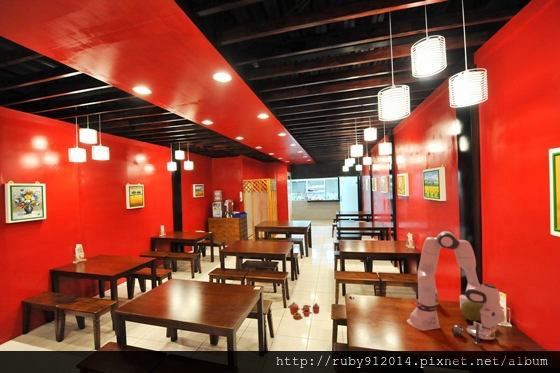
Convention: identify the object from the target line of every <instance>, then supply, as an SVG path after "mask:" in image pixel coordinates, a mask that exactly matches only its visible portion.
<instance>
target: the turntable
mask: <svg viewBox="0 0 560 373" xmlns="http://www.w3.org/2000/svg"><path fill="white" fill-rule="evenodd" d="M466 332H467V333H468V334H469V335H471V336H472V337H474V338H476V329H474V325H468V326H467V327H466ZM495 332H496V331H495V328H494V327H490V328H486V327H483V326H482V332H481V331H479V340H484V341H493V340H496V333H495Z"/></svg>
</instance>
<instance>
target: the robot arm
mask: <svg viewBox="0 0 560 373" xmlns="http://www.w3.org/2000/svg"><path fill="white" fill-rule="evenodd" d="M442 248H444V249H448V250H449V249H450V250H453V252H454V256H455V259H456V262H457V265H458V266H459V267H460V268H461V269H462V270H463V271H464V273H465V277H466V280H467V283H466V288H465V294H464V295H466V297H467V299H468V300H469V301H471V302H474V303H482V304H483V305H484V306H483V307H482V308H481V310H480V313H481V320H480V322H481V323H480V324H482V327H483V328H486V329H490V327H494V328H495V332H497V330H498V329H497V328H498V326H499V324H501V323H503V322H504V321H505V320H506V317H505V312H504V310H503V308H502V305H501V295H500V291H499V289H498V287H497V286H496V285H493V284H491V283H486V282H485V283H482V284H481V283H480V281H479V279H478V275H477V271H476V267H477V261H476V256H475V252H474V249H473V246H472V245H471V242H469V241H468V240H465V239H457V237H456V235H455V234H454V232H452V231H451V230H447V229H445V230H442V231H440V232H439V233H438V234H437V235H436V236H435V237H433V236H430V237H429V236H428V237H426V238H425V240H424V242H423V245H422V249H421V254H420V259H419V260H420V261H419V264H418V269H417V295H418V296H417V297H418V299H417V300H418V301H417V303H416V302H414V305H413V306H414V307H415V308H414V310H413V311H412V312H411V313H410V316H409V318H408V319H407V320H406V322H407V323H408V325H409V326H411V327H413V328H414V329H416V330H419V331H430V330H435V329H436V330H437V329H440V328H441V326H440V324H439V317H438V313H437V305H436V304H435V286H436V278H435V274H436V269H437V266H438V262H439V257H440V252H441V249H442Z"/></svg>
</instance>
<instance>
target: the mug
mask: <svg viewBox="0 0 560 373" xmlns="http://www.w3.org/2000/svg"><path fill="white" fill-rule="evenodd" d="M465 301H469V300H468V299H467V297H466V295H465V294H461V295H459V307H460V309H461V304H462V303H464V302H465Z"/></svg>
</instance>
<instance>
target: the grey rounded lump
mask: <svg viewBox="0 0 560 373" xmlns="http://www.w3.org/2000/svg"><path fill="white" fill-rule="evenodd" d="M464 332H465V330H464V328H463V327H462V326H461V325H459V324H454V325H453V326H452V327H451V333H452V334H453V335H454V336H455V337H459V338H460V337H462V336H463V334H464Z"/></svg>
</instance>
